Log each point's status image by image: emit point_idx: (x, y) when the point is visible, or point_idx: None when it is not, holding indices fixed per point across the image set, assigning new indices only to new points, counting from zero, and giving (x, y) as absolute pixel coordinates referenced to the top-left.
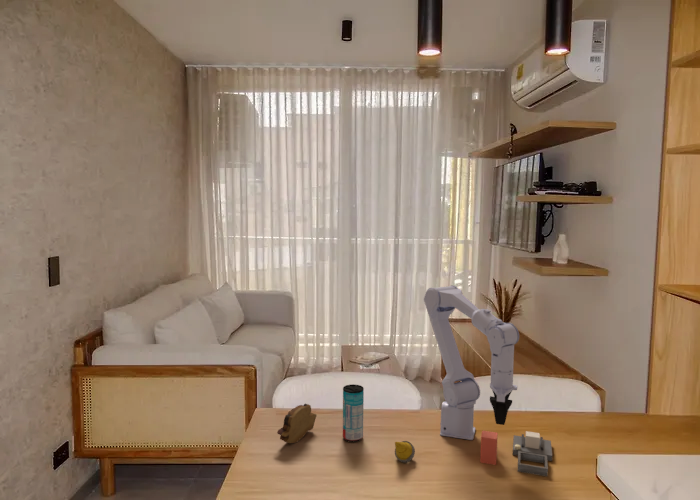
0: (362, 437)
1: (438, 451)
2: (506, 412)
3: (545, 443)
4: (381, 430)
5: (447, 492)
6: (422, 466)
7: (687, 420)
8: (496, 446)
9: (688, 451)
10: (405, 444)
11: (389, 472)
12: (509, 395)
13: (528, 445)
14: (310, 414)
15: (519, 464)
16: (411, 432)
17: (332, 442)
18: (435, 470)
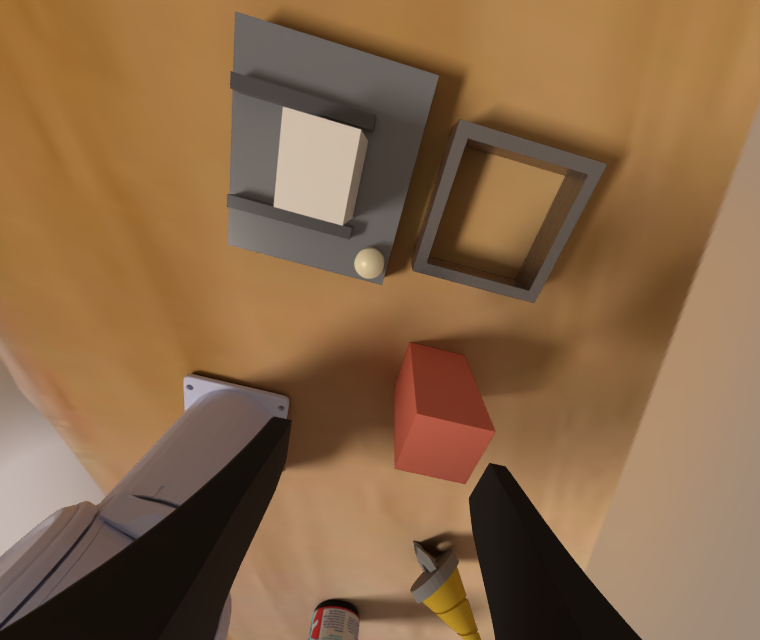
0: (341, 607)
1: (380, 486)
2: (606, 606)
3: (285, 71)
4: (283, 572)
5: (603, 494)
6: (466, 523)
7: None
8: (483, 404)
9: None
10: (455, 612)
11: None
12: (178, 608)
13: (354, 202)
14: None
15: (537, 296)
16: (276, 526)
17: (362, 631)
18: None
